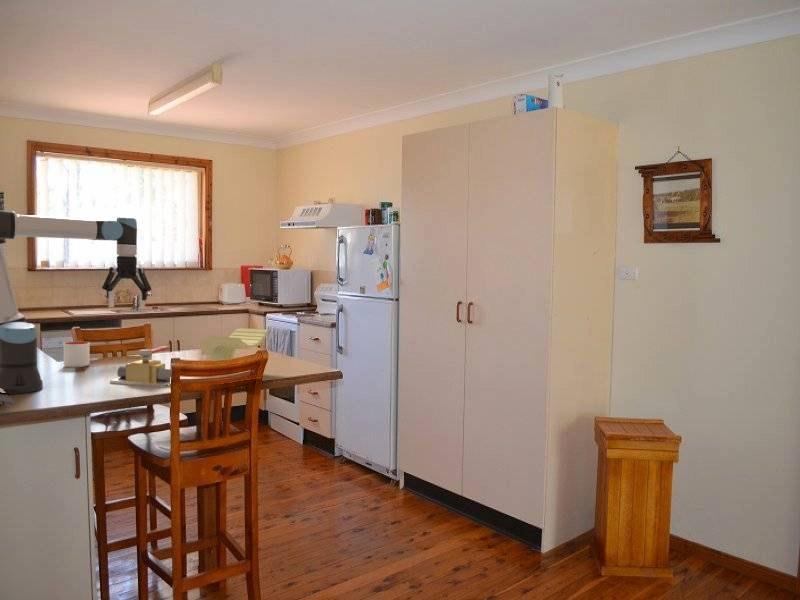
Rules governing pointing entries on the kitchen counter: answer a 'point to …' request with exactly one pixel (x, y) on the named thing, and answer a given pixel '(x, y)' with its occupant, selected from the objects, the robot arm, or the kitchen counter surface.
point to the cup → (76, 354)
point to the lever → (153, 350)
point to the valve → (143, 373)
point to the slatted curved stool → (232, 343)
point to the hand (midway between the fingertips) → (126, 307)
